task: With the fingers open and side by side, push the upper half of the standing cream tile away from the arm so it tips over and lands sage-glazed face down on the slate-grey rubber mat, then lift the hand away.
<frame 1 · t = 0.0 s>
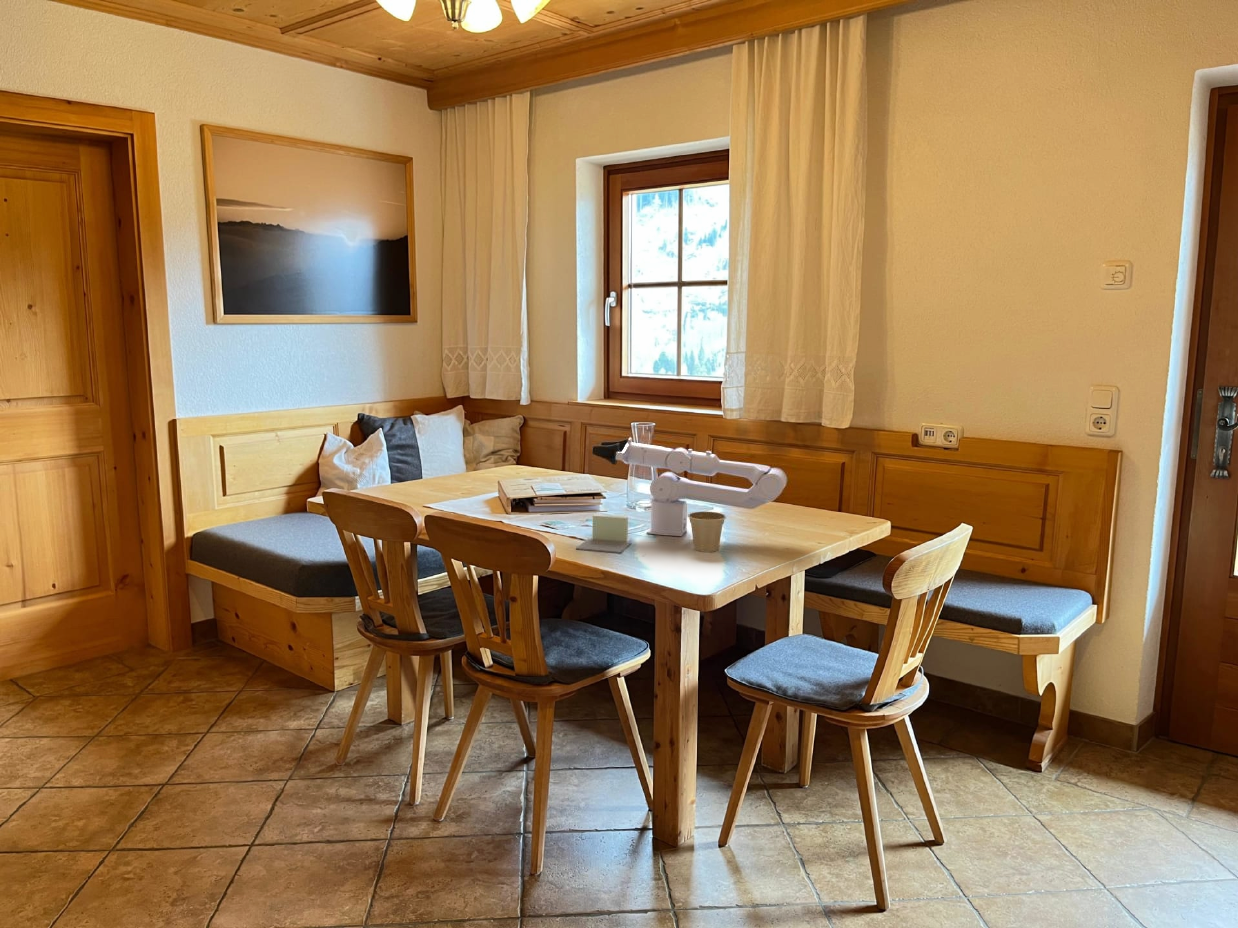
hand: (597, 448, 251), 22 cm above the table, tool horizontal, fingers open, 7 cm apart
mat: (604, 546, 233), on the table
tile: (610, 541, 239), on the table
flower pot: (705, 550, 232), on the table
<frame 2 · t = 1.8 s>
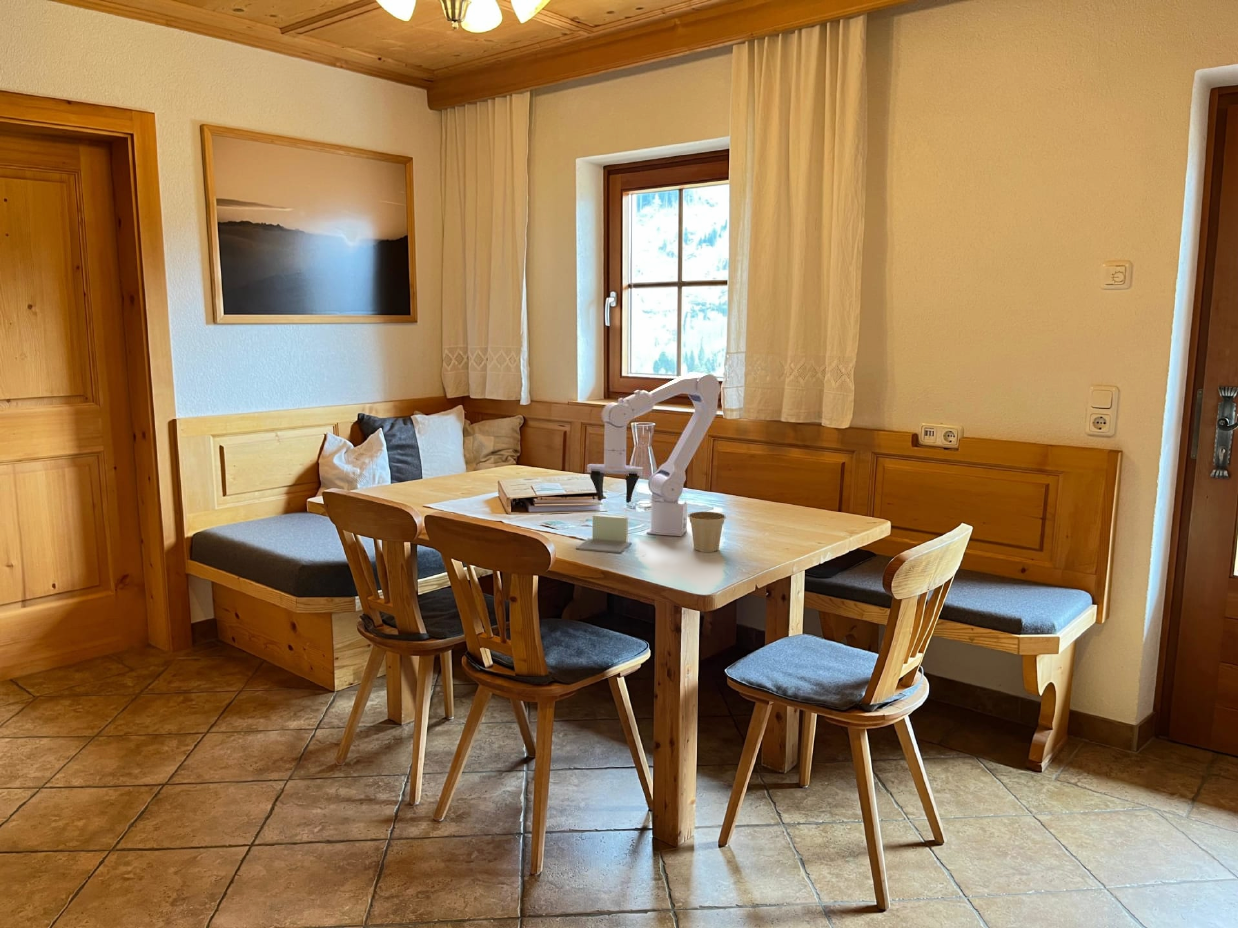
hand: (614, 500, 242), 9 cm above the table, tool pointing down, fingers open, 7 cm apart
nothing on the table moved.
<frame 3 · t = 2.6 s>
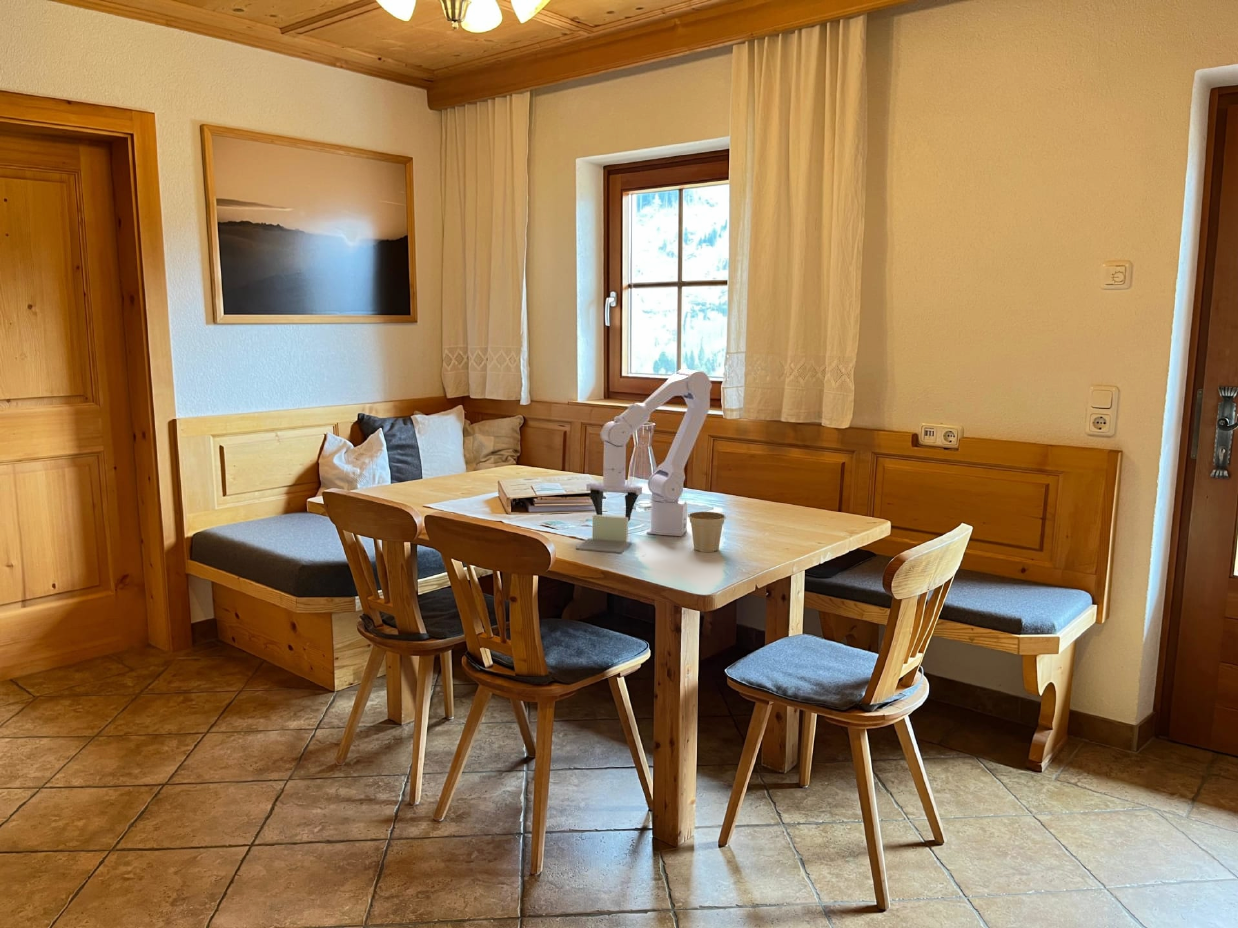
hand: (613, 519, 243), 5 cm above the table, tool pointing down, fingers open, 7 cm apart
nothing on the table moved.
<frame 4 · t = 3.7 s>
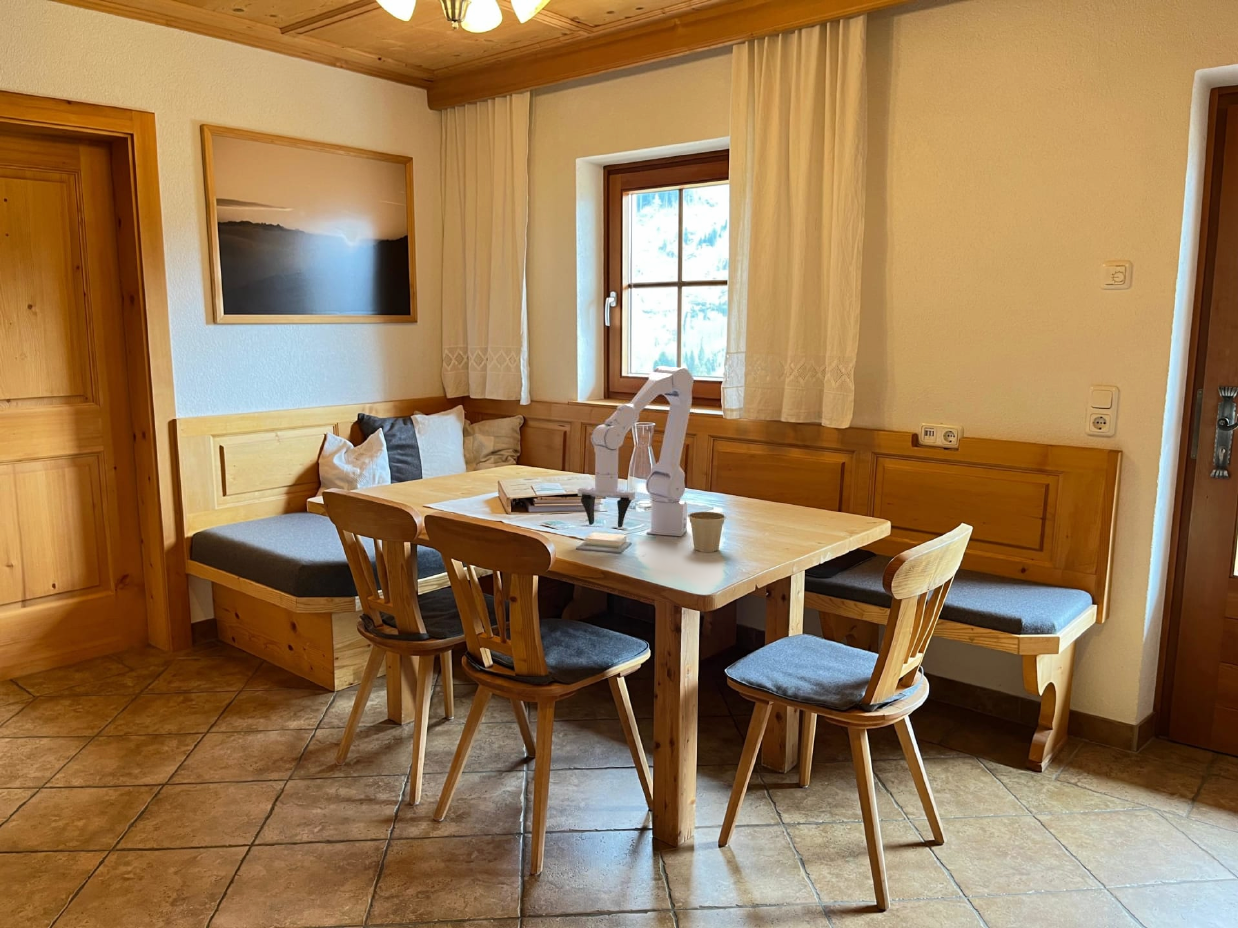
hand: (605, 525, 236), 5 cm above the table, tool pointing down, fingers open, 7 cm apart
tile: (609, 536, 238), point 1 cm above the table, tilted 90°, touching mat
everything else where it was.
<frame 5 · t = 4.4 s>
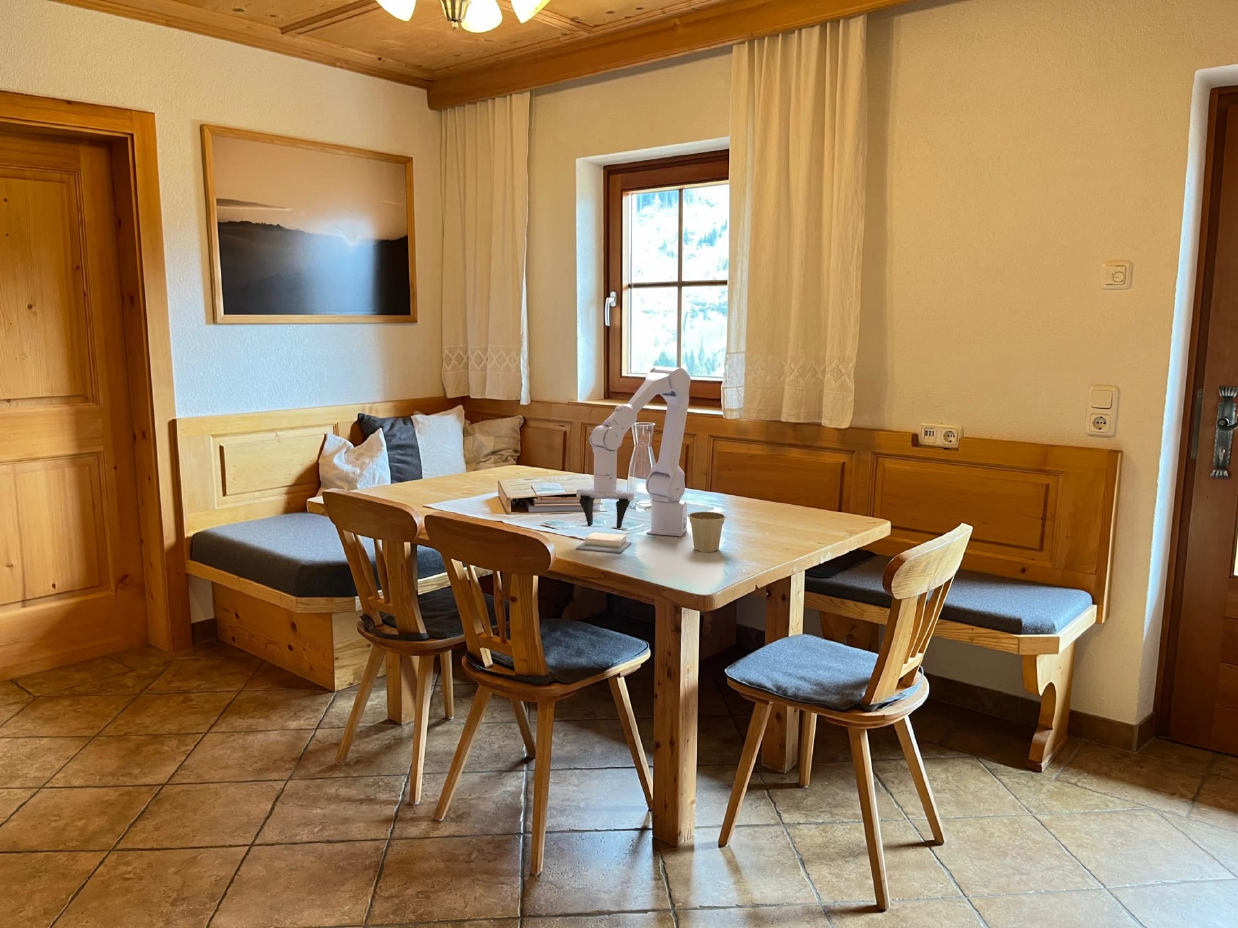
hand: (604, 526, 235), 4 cm above the table, tool pointing down, fingers open, 7 cm apart
nothing on the table moved.
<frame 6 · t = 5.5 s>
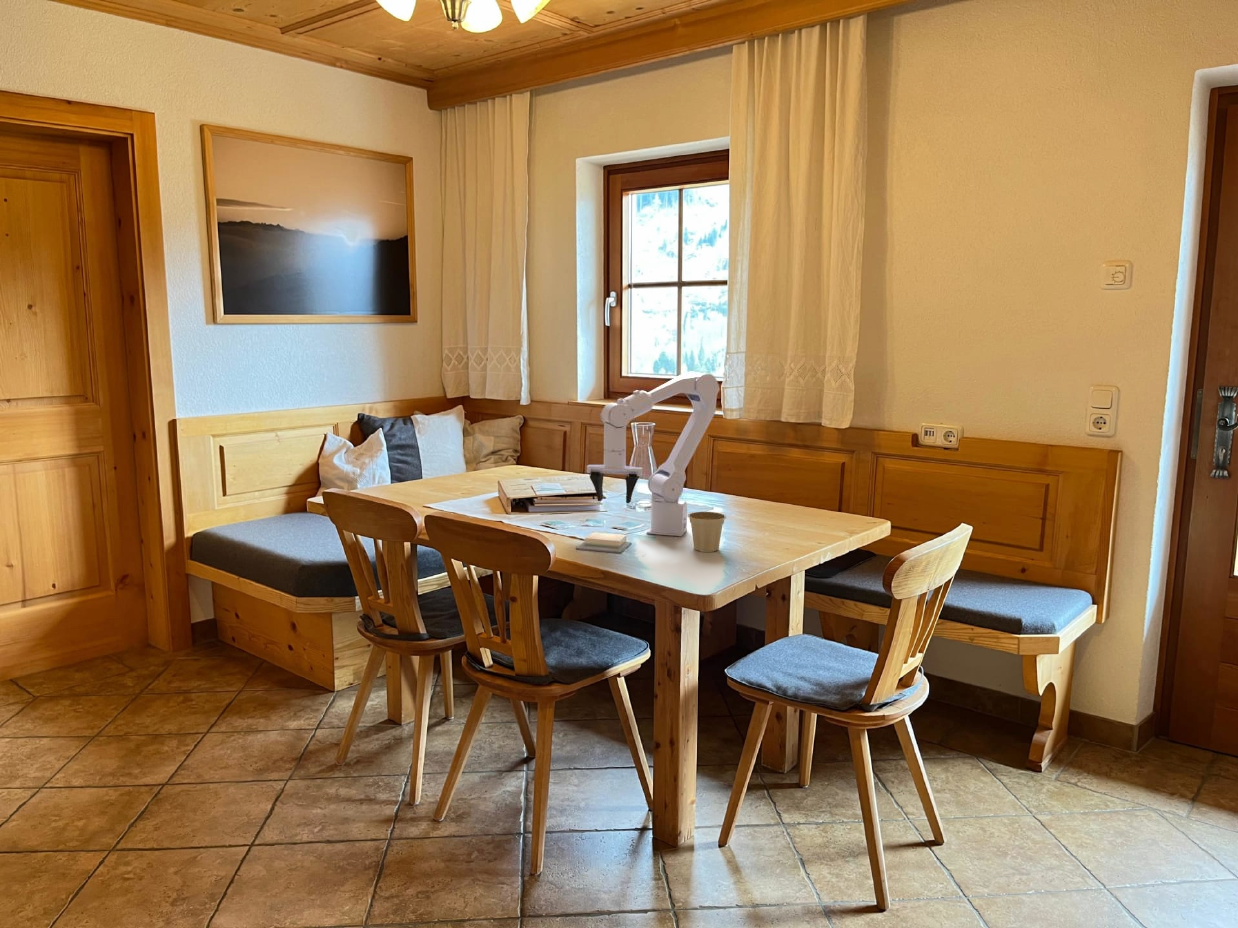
hand: (614, 501, 242), 9 cm above the table, tool pointing down, fingers open, 7 cm apart
nothing on the table moved.
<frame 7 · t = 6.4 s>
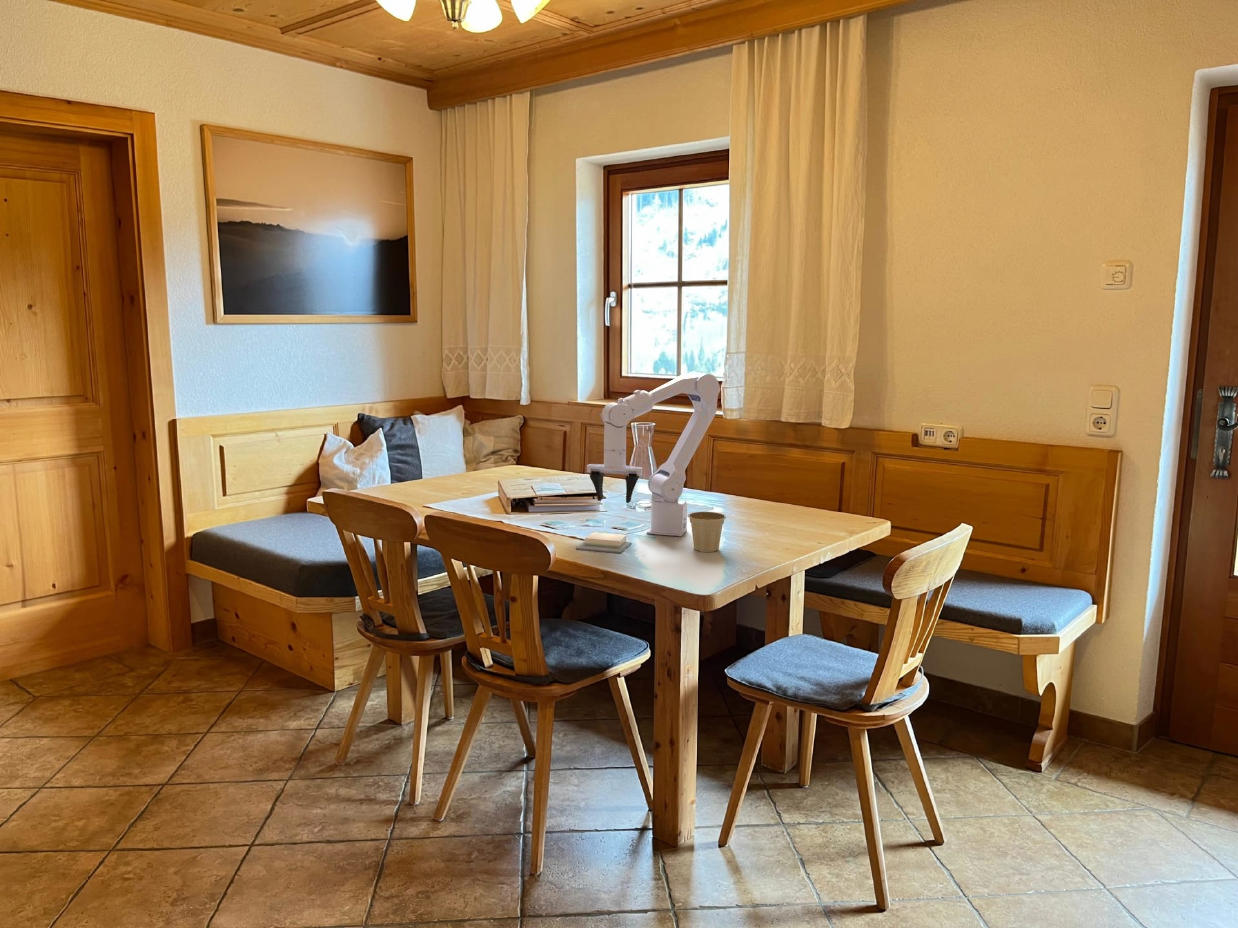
hand: (614, 501, 242), 9 cm above the table, tool pointing down, fingers open, 7 cm apart
nothing on the table moved.
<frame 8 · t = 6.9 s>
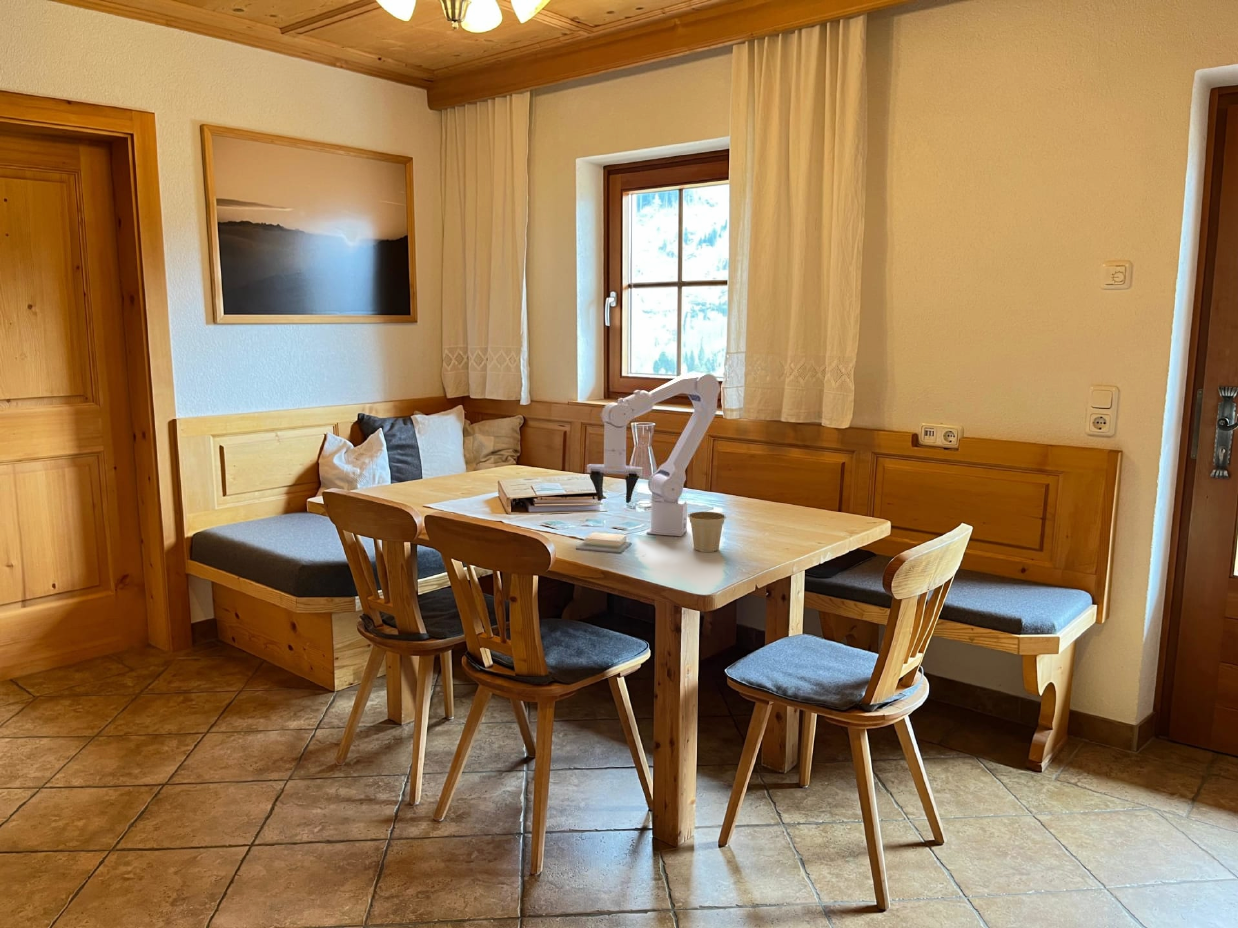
hand: (614, 501, 242), 9 cm above the table, tool pointing down, fingers open, 7 cm apart
nothing on the table moved.
at the end: tile tilted 90°; tile touching mat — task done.
